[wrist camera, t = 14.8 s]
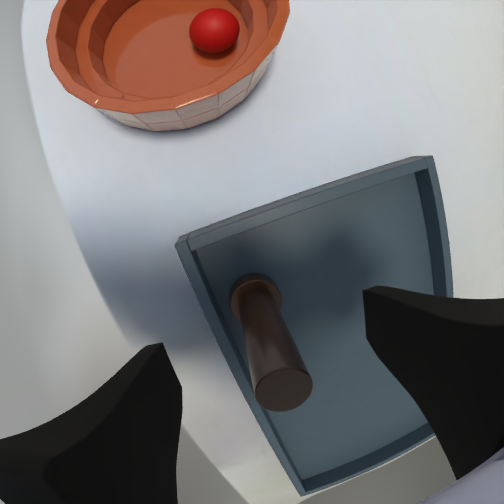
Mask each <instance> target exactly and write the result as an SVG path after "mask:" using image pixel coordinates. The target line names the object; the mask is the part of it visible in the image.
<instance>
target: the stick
mask: <svg viewBox="0 0 504 504" xmlns="http://www.w3.org/2000/svg"><path fill="white" fill-rule="evenodd" d="M229 301H230V309H231V312H232V315H233V316H234V318H235V319H236V320H237V321H238V322H239V323H241V325H242V331H243V336H244V342H245V347H246V353H247V358H248V364H249V369H250V374H251V380H252V385H253V390H254V395H255V399H256V401H257V402H258V404H259V405H260V406H261V407H263V408H264V409H266V410H269V411H273V412H285V411H289V410H292V409H295V408H297V407H299V406H300V405H302V404H303V403H304V402H305V401H306V400H307V399H308V398H309V396H310V395H311V393H312V389H313V380H312V378H311V376H310V374H309V371H308V369H307V367H306V365H305V363H304V361H303V359H302V357H301V355H300V352H299V350H298V348H297V346H296V344H295V342H294V340H293V338H292V336H291V333H290V331H289V329H288V327H287V325H286V323H285V321H284V319H283V316H282V314H281V312H280V311H281V308H282V296H281V293H280V291H279V289H278V288H277V286H276V284H275V282H274V281H273V280H272V279H271V278H270V277H268V276H266V275H264V274H261V273H249V274H245V275H243V276H241V277H240V278H238V279H237V280H236V281H235V282H234V284H233V285H232V287H231V289H230V293H229Z"/></svg>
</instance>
